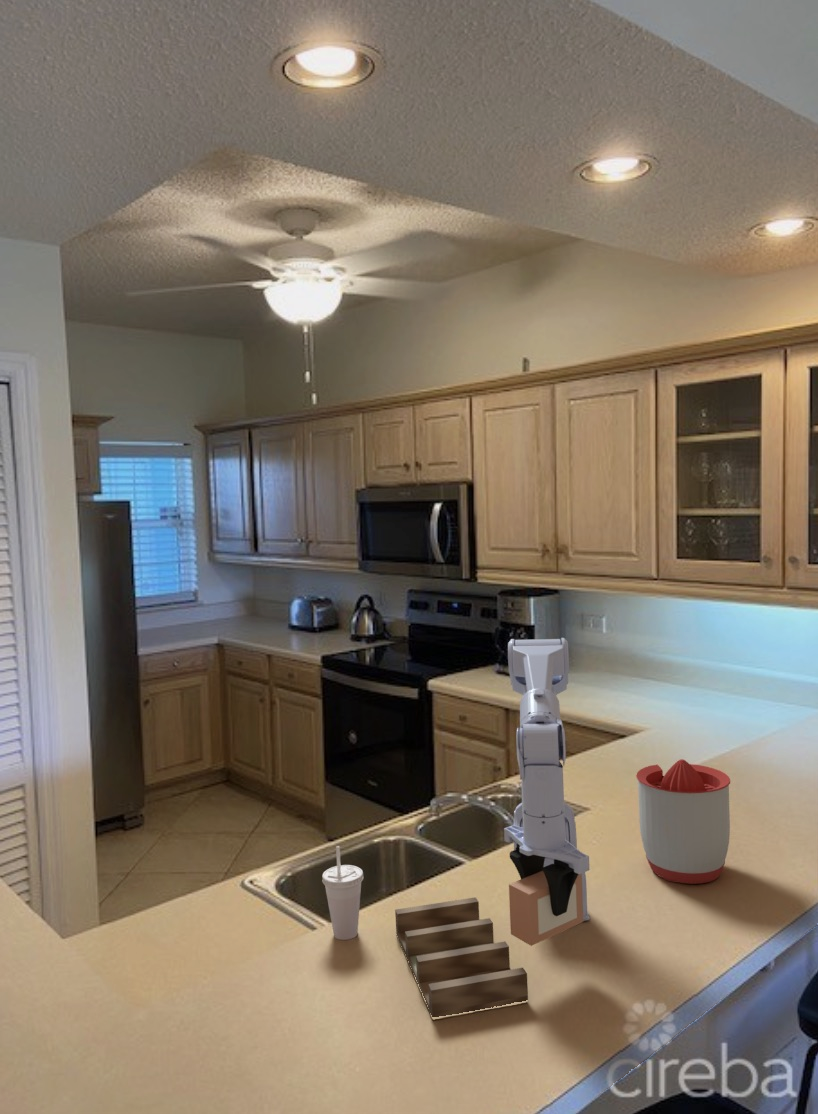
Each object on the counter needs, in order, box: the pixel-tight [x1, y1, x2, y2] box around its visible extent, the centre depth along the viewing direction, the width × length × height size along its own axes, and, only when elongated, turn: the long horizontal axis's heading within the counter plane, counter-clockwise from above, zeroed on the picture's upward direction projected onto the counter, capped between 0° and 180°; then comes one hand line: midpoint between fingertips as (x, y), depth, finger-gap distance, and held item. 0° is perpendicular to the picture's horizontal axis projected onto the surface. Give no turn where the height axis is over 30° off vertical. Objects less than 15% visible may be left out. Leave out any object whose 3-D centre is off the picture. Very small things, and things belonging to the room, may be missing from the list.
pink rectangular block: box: [508, 871, 584, 947], centre depth 114 cm, size 4×10×7 cm, turn 125°
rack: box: [394, 897, 529, 1017], centre depth 118 cm, size 13×22×4 cm, turn 13°
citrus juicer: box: [635, 758, 731, 885], centre depth 145 cm, size 16×17×20 cm
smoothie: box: [321, 845, 364, 941], centre depth 128 cm, size 6×6×14 cm
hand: (546, 906), depth 114 cm, fingers closed on pink rectangular block, 4 cm apart
